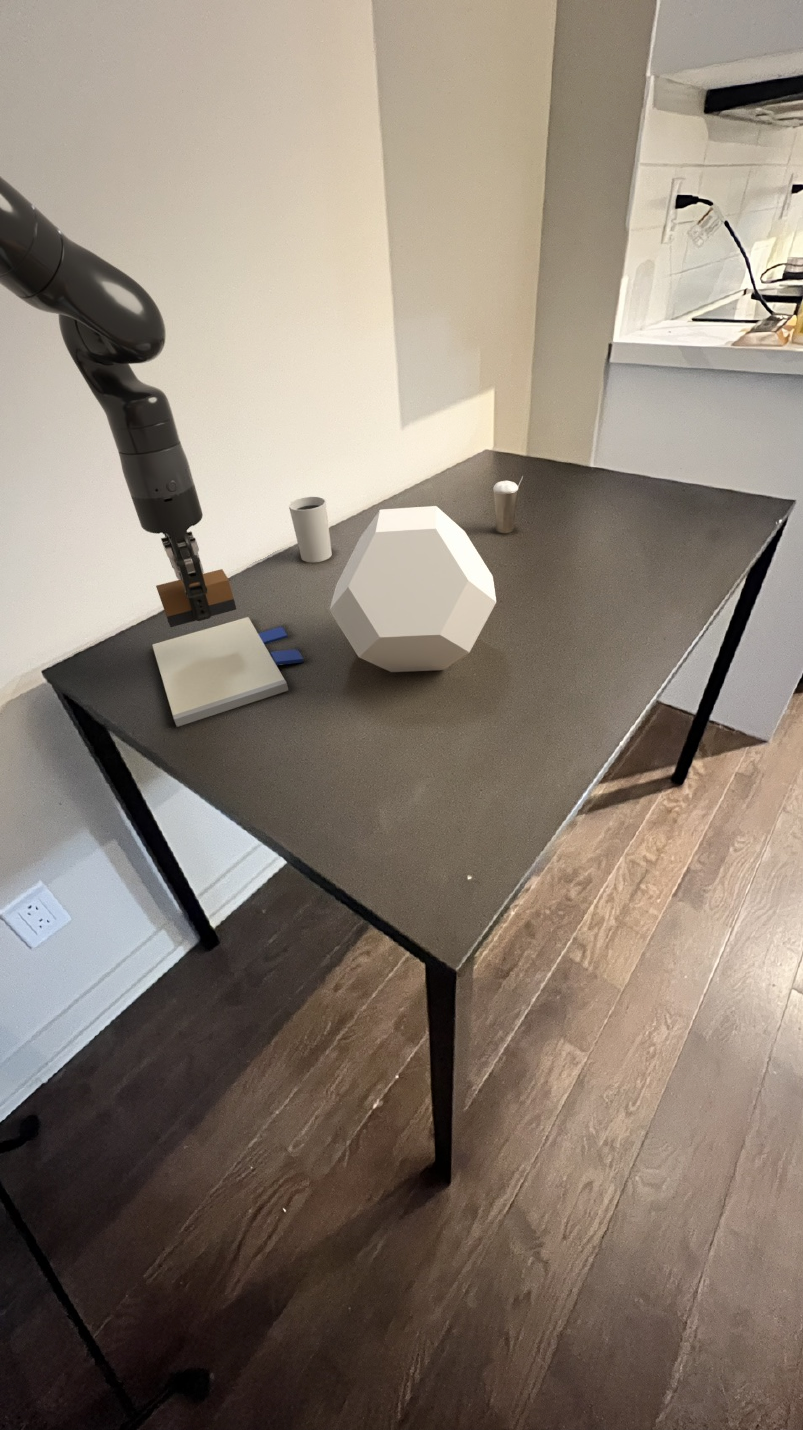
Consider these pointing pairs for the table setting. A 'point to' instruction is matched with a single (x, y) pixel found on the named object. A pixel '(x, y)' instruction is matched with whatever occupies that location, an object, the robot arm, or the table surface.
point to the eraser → (179, 603)
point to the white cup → (311, 528)
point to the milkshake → (505, 505)
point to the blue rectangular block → (286, 657)
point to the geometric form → (413, 592)
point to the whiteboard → (216, 670)
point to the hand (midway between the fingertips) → (200, 610)
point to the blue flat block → (273, 635)
